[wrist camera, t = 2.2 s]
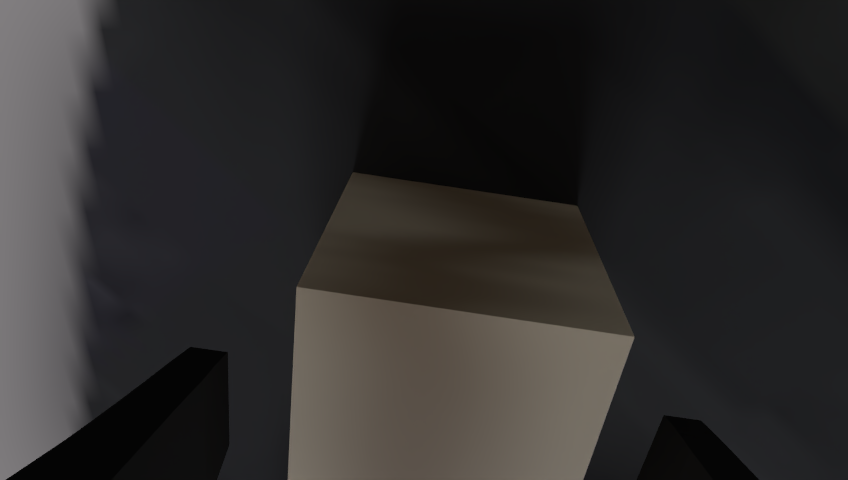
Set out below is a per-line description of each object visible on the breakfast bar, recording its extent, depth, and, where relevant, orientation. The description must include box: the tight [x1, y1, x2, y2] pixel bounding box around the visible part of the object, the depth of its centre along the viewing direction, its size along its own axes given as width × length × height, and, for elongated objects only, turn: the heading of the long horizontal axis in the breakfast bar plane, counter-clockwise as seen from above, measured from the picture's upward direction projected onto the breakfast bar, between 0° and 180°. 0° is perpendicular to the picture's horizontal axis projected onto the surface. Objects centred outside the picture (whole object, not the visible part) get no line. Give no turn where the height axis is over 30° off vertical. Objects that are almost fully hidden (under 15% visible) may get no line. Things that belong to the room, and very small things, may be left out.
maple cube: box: [288, 172, 634, 480], centre depth 12 cm, size 5×5×5 cm
